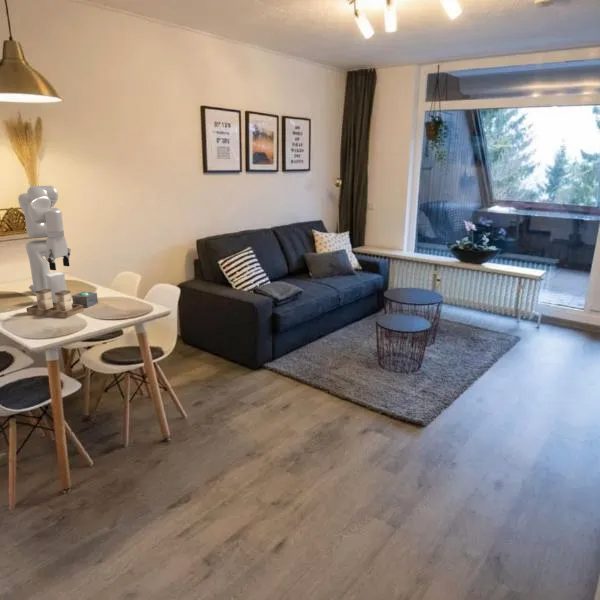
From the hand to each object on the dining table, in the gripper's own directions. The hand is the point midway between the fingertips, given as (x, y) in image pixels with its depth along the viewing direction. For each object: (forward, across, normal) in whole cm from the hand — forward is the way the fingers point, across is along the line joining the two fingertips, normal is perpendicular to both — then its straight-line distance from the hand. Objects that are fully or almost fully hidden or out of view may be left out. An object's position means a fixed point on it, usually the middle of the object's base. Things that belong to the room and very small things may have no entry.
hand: (59, 268), depth 246 cm
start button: (+23, -16, 0) cm, 28 cm away
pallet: (+24, 0, -6) cm, 25 cm away
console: (+24, -16, 0) cm, 29 cm away
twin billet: (+23, 0, -12) cm, 26 cm away
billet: (+23, 0, 0) cm, 23 cm away
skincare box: (+24, -19, -20) cm, 37 cm away
